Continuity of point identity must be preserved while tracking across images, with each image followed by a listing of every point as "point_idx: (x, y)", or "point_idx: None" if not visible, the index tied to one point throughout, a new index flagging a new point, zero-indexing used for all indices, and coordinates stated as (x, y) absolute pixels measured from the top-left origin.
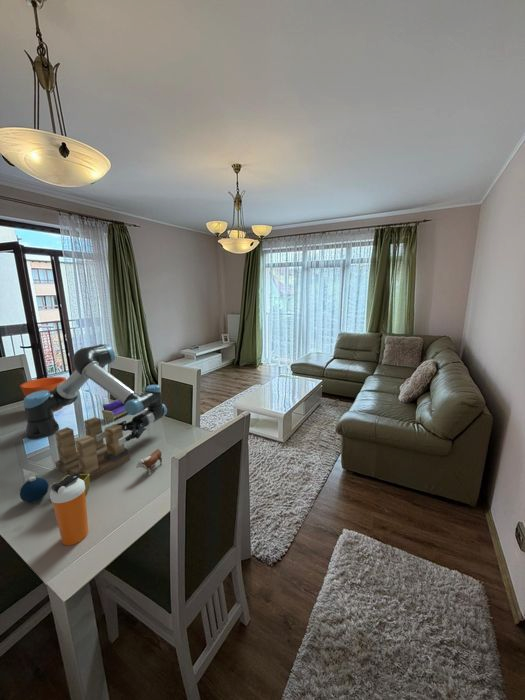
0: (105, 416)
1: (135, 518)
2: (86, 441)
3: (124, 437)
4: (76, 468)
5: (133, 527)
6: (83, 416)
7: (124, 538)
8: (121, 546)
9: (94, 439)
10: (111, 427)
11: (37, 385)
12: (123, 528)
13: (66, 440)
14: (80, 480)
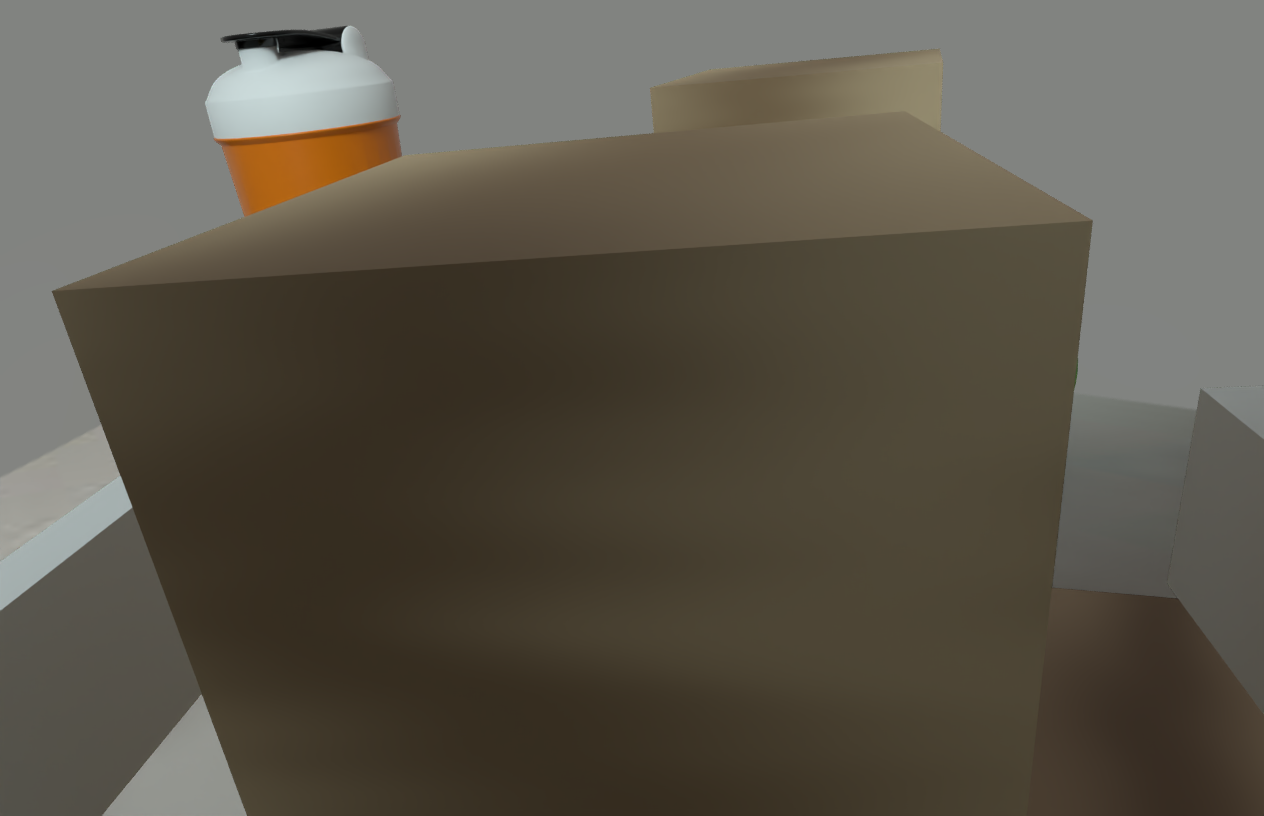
0: None
1: (17, 527)
2: (695, 75)
3: (39, 552)
4: (1076, 632)
5: (28, 494)
6: None
7: (78, 456)
8: (88, 436)
9: (655, 124)
10: (672, 160)
11: None
12: (96, 480)
13: None
14: (229, 76)
